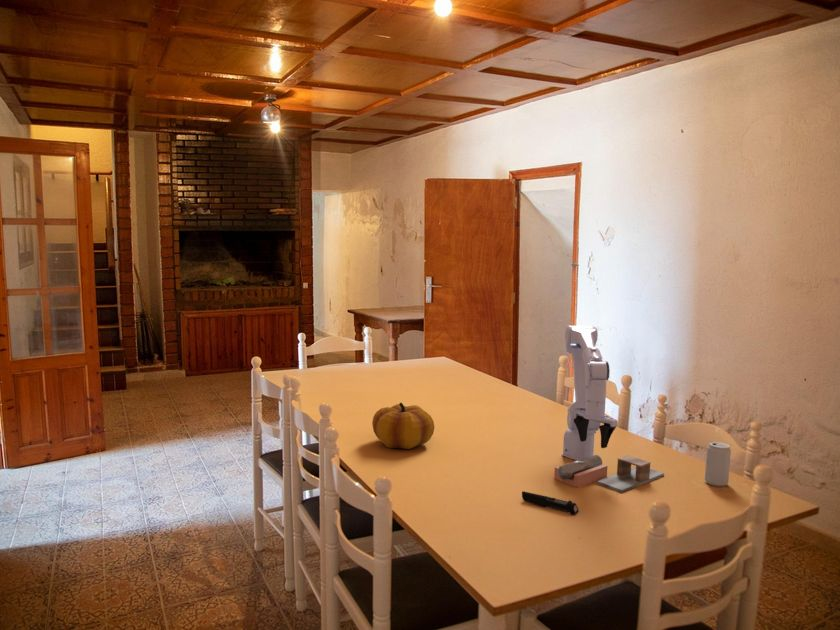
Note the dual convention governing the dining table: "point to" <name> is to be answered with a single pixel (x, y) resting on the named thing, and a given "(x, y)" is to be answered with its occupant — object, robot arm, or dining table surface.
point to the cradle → (584, 475)
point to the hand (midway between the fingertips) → (593, 444)
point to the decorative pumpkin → (403, 426)
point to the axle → (579, 466)
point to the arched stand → (630, 474)
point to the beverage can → (717, 464)
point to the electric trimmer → (550, 502)
